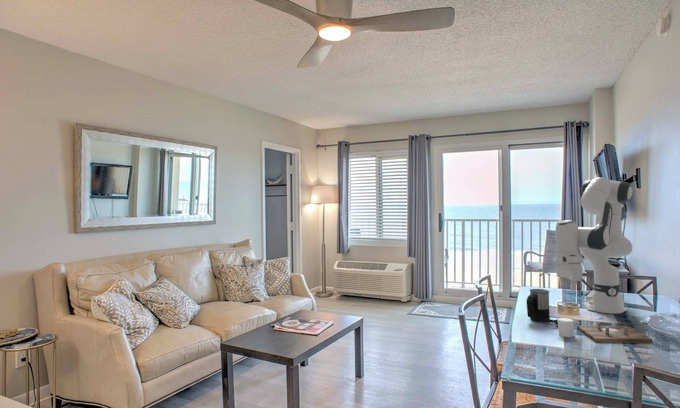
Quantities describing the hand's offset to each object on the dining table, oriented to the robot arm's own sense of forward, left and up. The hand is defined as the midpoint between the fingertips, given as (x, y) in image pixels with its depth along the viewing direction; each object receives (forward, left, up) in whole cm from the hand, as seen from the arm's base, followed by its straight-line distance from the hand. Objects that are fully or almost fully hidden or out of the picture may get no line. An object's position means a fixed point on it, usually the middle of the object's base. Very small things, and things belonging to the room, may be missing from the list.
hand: (568, 288), depth 184 cm
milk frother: (-20, -4, -21) cm, 30 cm away
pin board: (0, +17, -21) cm, 27 cm away
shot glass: (0, -2, -21) cm, 21 cm away
